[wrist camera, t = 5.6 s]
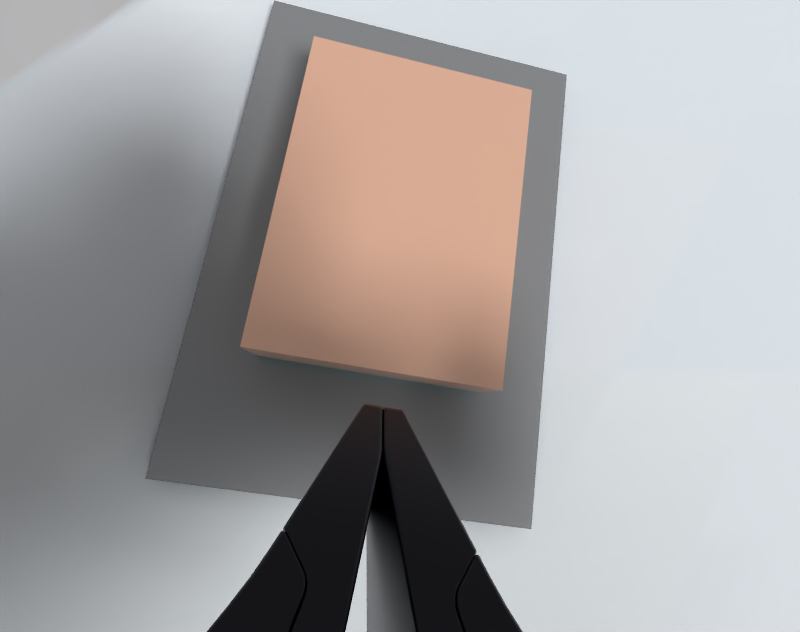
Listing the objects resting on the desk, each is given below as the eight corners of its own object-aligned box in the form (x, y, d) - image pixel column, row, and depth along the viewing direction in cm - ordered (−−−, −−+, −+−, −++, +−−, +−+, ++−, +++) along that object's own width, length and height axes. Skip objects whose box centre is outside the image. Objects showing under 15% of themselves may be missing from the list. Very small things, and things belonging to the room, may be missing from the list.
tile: (502, 390, 13) (532, 90, 16) (239, 346, 12) (314, 36, 15) (476, 392, 16) (505, 131, 18) (256, 355, 15) (317, 87, 17)
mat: (523, 524, 15) (531, 529, 15) (153, 475, 14) (145, 478, 13) (559, 84, 20) (566, 74, 19) (276, 13, 18) (274, 0, 18)
